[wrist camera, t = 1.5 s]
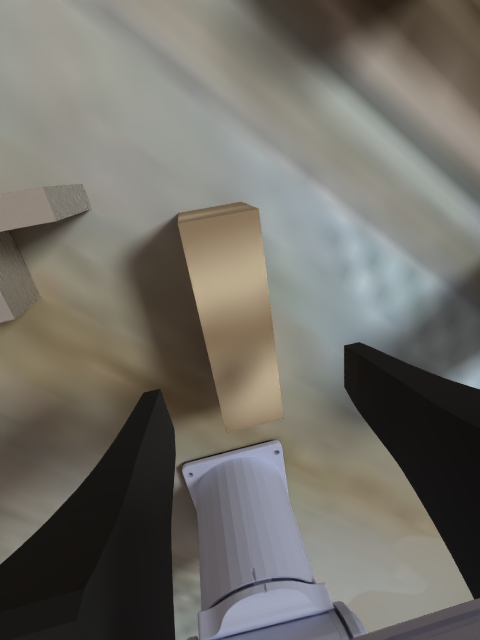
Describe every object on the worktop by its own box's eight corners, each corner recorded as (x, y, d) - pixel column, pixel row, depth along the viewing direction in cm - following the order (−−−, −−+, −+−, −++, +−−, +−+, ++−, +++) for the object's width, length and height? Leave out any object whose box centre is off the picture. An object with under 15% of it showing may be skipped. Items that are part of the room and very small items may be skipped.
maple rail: (265, 375, 23) (283, 418, 19) (218, 386, 22) (226, 432, 18) (240, 201, 17) (258, 208, 13) (178, 212, 17) (177, 223, 13)
